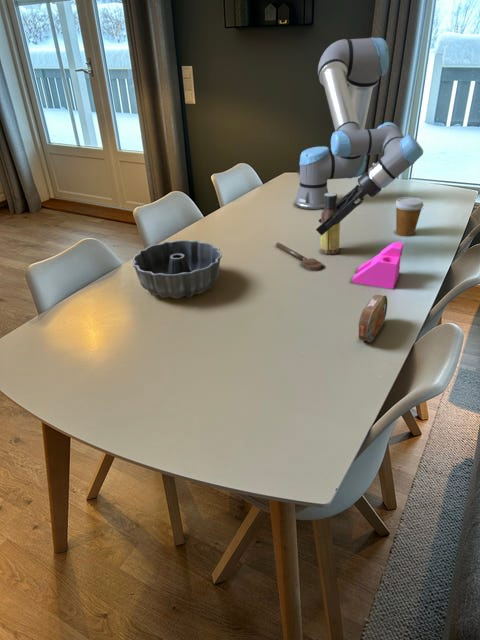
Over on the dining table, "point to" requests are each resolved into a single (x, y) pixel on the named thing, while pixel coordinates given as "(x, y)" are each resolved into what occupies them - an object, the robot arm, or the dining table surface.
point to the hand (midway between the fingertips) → (320, 227)
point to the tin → (372, 318)
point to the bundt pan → (178, 268)
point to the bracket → (381, 268)
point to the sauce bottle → (332, 235)
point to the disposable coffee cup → (407, 215)
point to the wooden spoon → (302, 258)
